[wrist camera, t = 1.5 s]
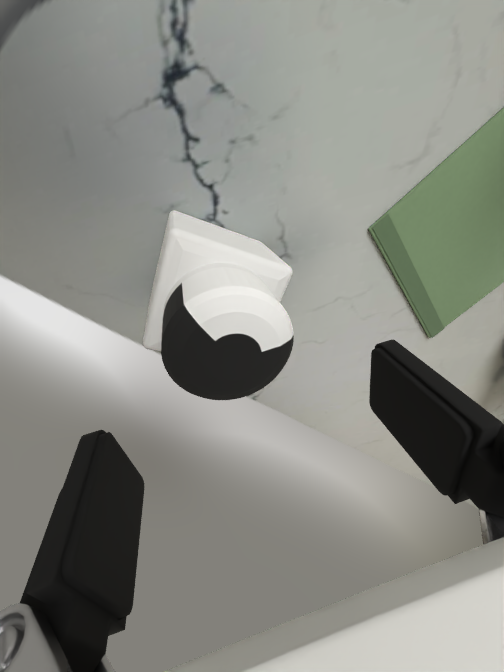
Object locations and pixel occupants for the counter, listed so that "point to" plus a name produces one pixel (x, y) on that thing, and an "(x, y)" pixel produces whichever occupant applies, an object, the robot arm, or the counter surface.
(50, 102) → the counter surface
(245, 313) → the medicine bottle
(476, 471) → the robot arm
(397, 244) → the napkin
